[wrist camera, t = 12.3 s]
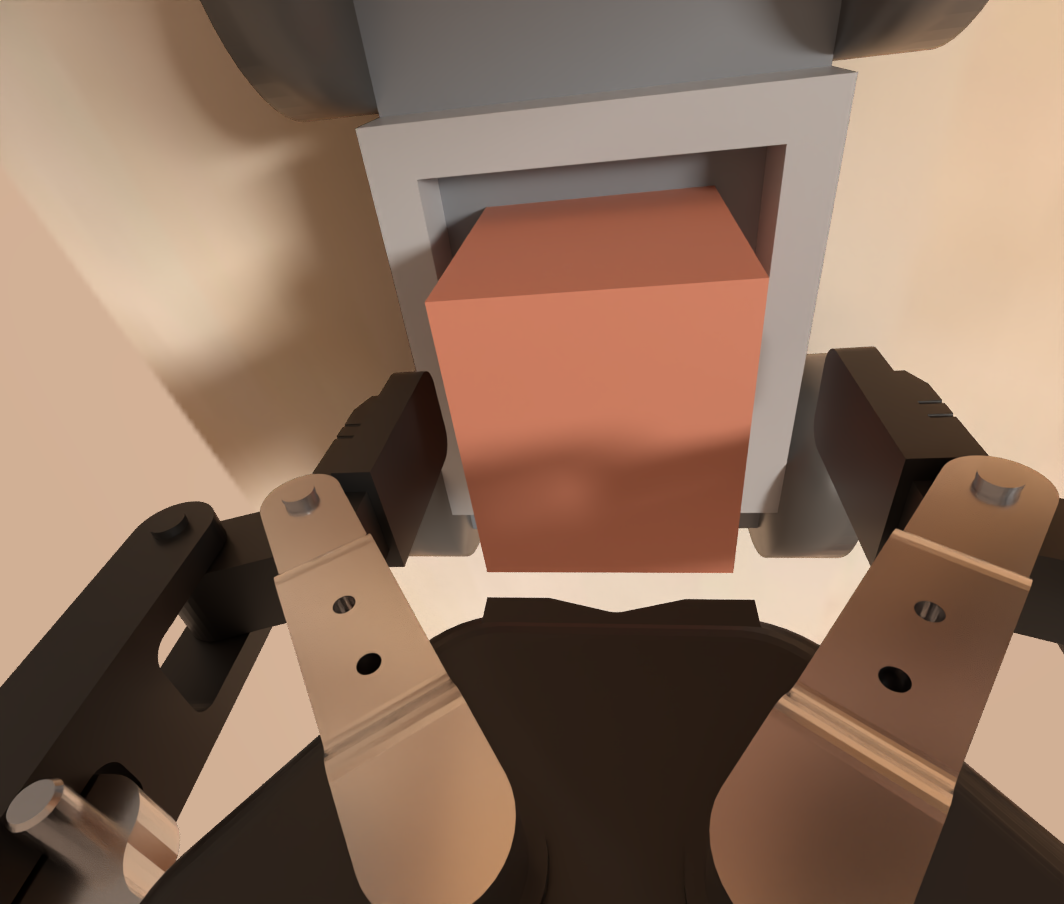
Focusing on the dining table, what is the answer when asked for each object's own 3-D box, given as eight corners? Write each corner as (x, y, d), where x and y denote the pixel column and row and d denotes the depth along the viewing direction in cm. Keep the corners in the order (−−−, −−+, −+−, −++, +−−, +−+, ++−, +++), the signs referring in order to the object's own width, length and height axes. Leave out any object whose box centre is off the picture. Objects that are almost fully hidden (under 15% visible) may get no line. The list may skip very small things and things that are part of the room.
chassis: (947, -364, 11) (1227, -675, 6) (790, 471, 22) (840, 601, 17) (275, -221, 12) (67, -366, 8) (447, 477, 24) (406, 595, 19)
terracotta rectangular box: (714, 185, 13) (769, 277, 8) (699, 420, 16) (733, 572, 12) (486, 207, 13) (424, 302, 9) (519, 426, 17) (487, 571, 12)
